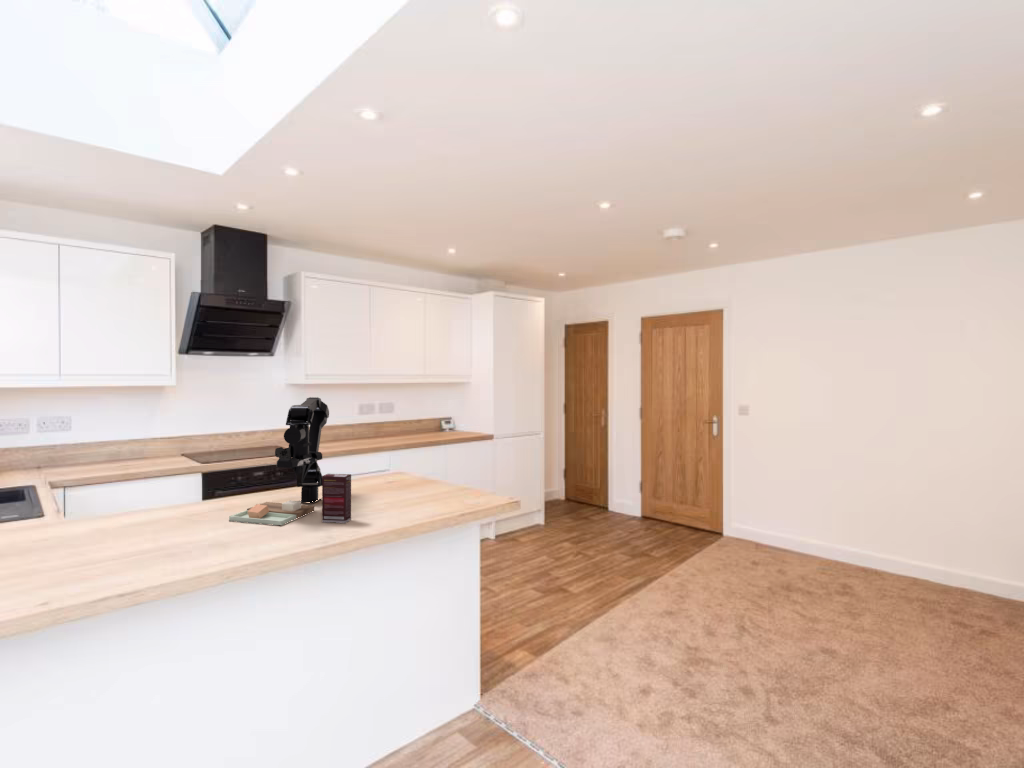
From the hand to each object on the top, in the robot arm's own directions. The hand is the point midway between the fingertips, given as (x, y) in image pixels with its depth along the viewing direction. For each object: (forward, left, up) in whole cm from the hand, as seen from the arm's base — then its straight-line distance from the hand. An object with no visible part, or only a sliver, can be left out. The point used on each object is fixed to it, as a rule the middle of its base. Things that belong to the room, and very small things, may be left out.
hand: (300, 482), depth 187 cm
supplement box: (+7, +19, -11) cm, 23 cm away
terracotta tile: (+11, -8, -9) cm, 17 cm away
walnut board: (+4, -5, -10) cm, 12 cm away
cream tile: (+5, 0, -8) cm, 10 cm away
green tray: (+13, -5, -10) cm, 18 cm away
